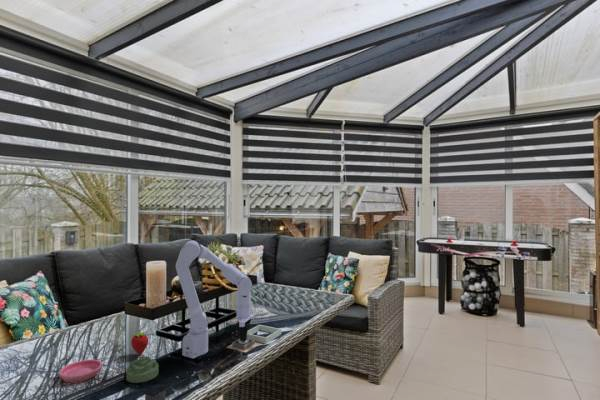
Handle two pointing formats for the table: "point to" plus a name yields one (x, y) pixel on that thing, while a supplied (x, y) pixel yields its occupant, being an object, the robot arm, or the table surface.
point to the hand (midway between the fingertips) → (243, 338)
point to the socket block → (243, 346)
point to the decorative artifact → (142, 370)
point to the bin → (274, 331)
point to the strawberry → (139, 342)
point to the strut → (243, 341)
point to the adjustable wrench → (256, 314)
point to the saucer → (80, 370)
